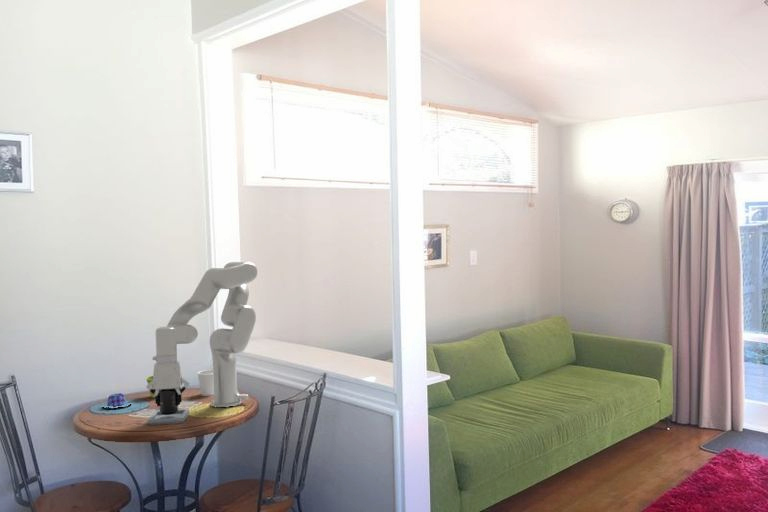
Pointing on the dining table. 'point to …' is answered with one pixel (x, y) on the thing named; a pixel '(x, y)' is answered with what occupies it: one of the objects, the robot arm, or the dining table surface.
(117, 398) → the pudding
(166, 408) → the supplement bottle
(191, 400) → the dining table surface
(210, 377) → the dixie cup
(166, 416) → the tray
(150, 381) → the plant pot
